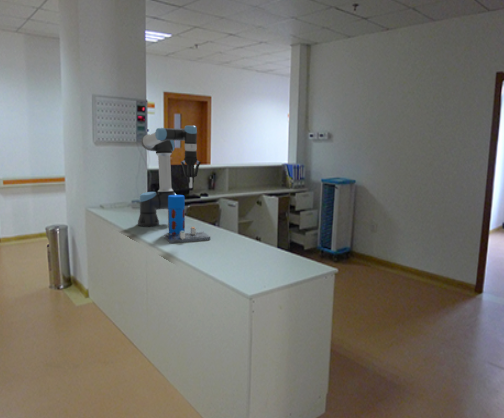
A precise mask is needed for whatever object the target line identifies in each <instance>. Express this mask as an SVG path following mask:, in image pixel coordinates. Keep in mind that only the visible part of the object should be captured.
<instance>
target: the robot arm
mask: <svg viewBox="0 0 504 418" xmlns="http://www.w3.org/2000/svg"><path fill="white" fill-rule="evenodd" d="M197 130H198V129H197V126H196V125H185V126H184V128H170V127H168V128H167V127H165V128H164V127H158V128H156V130H155V132H153V133H151V134H149V133H148V134H145V135H143V136H142V138H141V141H140V142H141V146H142V147H143V149H145V150H147V151H149V152H155V155H156V156H157V158H158V161H157V162H158V179H159V180H158V181H159V189H158V190H157V192H156V191H147V192H146V191H145V192H143V193H141V194H140V195H139V200H138V201H139V216H138V219H137V225H138V226H139V227H156V226H159V225H160V220H159V218H158V214H157V210H168V196H169V195H177V194H176V192H175V191H174V189H173V187H172V171H171V170H172V169H171V155H172V154H173V152H174V151H175V147H176V145H175V141H181V142H182V141H183V142H184V150H185V151H184V158H183V160H182V161H180V165H181V167H182V170H183V175H184V177H186V178H187V183H188V188H189V189H193V183H194V182H195V177H197V175H198V172H199V169H200V165H201V163H202V162H201V161H199V160H198V156H197V154H198V151H197V150H198V149H197V142H198V141H197V140H198V138H197V137H198V136H197V135H198V131H197ZM185 164H186V165H185ZM195 165H196V166H195ZM186 166H187V167H186ZM186 168H187V169H186Z"/></svg>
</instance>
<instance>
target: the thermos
mask: <svg viewBox="0 0 504 418" xmlns="http://www.w3.org/2000/svg"><path fill="white" fill-rule="evenodd" d="M185 199H186V197H185V195H183V194H176V195H169V196H168V209H167V210H168V211H167V213H168V215H167V216H168V217H167V219H168V221H167V222H168V224H167V225H168V234H169V235H171V234H180V232H181V231H184V232H185V229H186V224H185V221H186V218H185V216H186V215H185V212H186V209H185V206H186V205H185V202H186V201H185Z"/></svg>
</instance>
